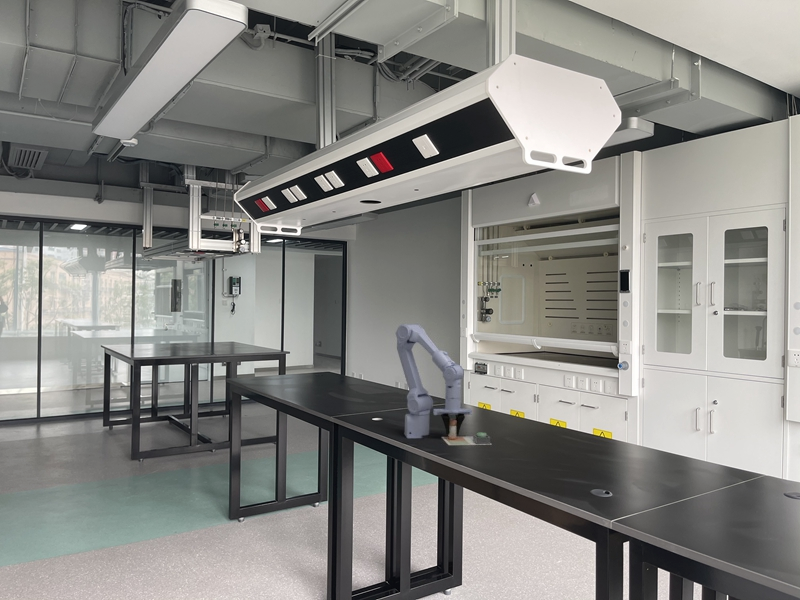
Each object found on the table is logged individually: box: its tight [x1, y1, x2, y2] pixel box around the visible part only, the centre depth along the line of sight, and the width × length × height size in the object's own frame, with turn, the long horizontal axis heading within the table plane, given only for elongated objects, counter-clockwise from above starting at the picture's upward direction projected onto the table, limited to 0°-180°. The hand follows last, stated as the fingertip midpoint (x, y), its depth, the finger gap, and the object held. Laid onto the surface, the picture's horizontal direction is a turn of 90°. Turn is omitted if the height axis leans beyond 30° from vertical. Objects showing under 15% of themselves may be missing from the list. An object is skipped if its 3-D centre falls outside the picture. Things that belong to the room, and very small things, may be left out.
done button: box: [476, 431, 487, 437], centre depth 210 cm, size 3×3×2 cm
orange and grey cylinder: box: [447, 418, 457, 439], centre depth 215 cm, size 3×3×7 cm
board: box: [441, 436, 493, 446], centre depth 213 cm, size 16×13×1 cm
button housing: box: [472, 434, 491, 444], centre depth 210 cm, size 5×5×2 cm
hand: (452, 434), depth 215 cm, fingers closed on orange and grey cylinder, 3 cm apart
